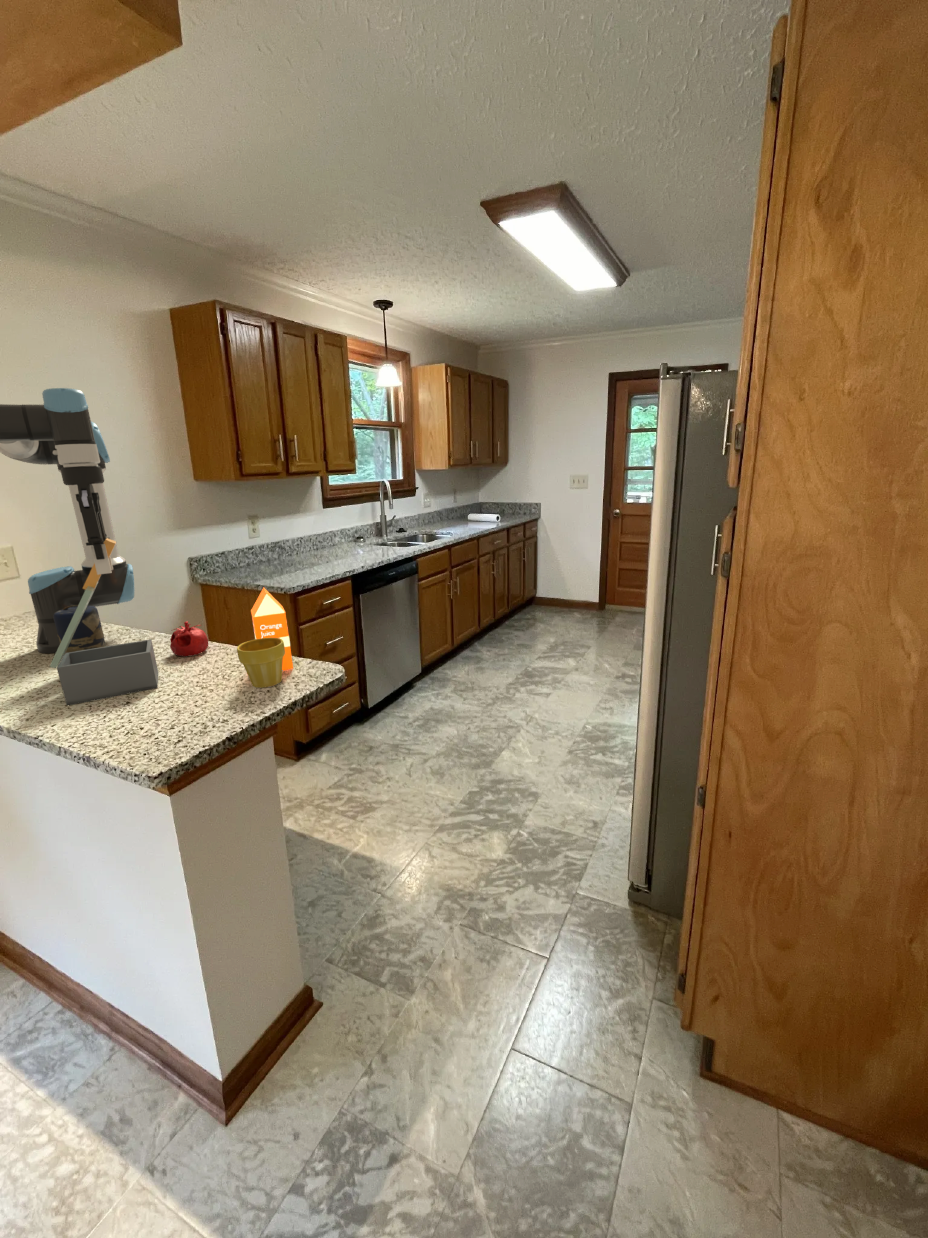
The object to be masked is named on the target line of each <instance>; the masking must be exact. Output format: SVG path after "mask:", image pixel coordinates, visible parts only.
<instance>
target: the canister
mask: <svg viewBox="0 0 928 1238" xmlns="http://www.w3.org/2000/svg"><path fill="white" fill-rule="evenodd" d="M70 607H71V608H70ZM77 607H78V605H71V606H68V607H66V608H64V609H62V610H59V611H57V612H55V613H54V615H53V618H54V622H55V625H56V629H57V633H58V637H59V641H60V643H61V641H62V639H63V637H64V635H65V633H66V630H67V628H68V626H69V624H70V622H71V620H72V618H73V616H74V613H75V611H76V609H77ZM106 646H107V644H106V638H105V634H104V630H103V626H102V623H101V618H100V615H99V611H98V608H97V607H94V606H87V607H86V609H85V612H84V614H83V616H82V618H81V620H80V622H79V624H78V626H77V629H76V631H75V633H74V635H73V637H72V639H71V641H70V644H69V646H68V648H67V650H66V652H65V653H69V652H75V651H81V650H87V649H94V648H100V647H106ZM64 655H65V654H64ZM64 655H63V656H64Z"/></svg>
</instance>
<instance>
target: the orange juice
mask: <svg viewBox="0 0 928 1238" xmlns="http://www.w3.org/2000/svg"><path fill="white" fill-rule="evenodd" d="M250 613H251V619H252V625H253V632H254V639H259V638H268V637H275V638H280V639H282V640H283V641H284V647H285V655H284V656H283V665H282V670H283V671H287V670H293V669H294V664H293V656H292V651H291V650H292V649H291V641H290V635H289V629H288V620H287V615H286V610H285V609H284V607H283V605H282V604H281V603H280V602H279V601H278V600H277V599H276V598H275V597H274V596H273V595H272V594H271V593H270V592H269V591H268V590H267V589H266V588H265V587H263V588H262V590H261V591H260V593H259V595H258V597H257V599H256V601H255V603H254V604H253V606H252V608H251V609H250Z"/></svg>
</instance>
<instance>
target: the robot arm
mask: <svg viewBox="0 0 928 1238" xmlns="http://www.w3.org/2000/svg"><path fill="white" fill-rule="evenodd" d="M41 394H42V400H43V404H3V403H2V404H1V403H0V453H1V454H2V455H4V456H6V457H7V458H10V459H13V460H14V461H19V462H22V463H27V464H33V465H44V466H45V465H57V470H58V472H60V474H61V478H62V482H63V483H62V484H64V485H65V486H68V489H69V494H70V497H71V502H72V506H73V510H74V514H75V519H76V522H77V523H76V524H77V527H78V531H79V535H80V539H81V543H82V547H83V548H82V549H83V552H84V555H85V556H84V557H85V559H84V560H83V561H82V563H81V564H80V565H81V569H80V570H75V568H74V567H73V566H71V565H70V566H61V567H56V568H52V569H48V570H45V571H41V572H38V573H35V574H33V575H31V576H30V577H28V579H27V585H28V590H29V591H28V593H29V594H30V597H31V600H32V604H33V609H34V612H35V616H36V620H37V623H38V629H37V635H36V644H35V645H36V648H37V652H38V653H42V654H54V653H55V654H56V652H57V650H58V647H59V645H60V641H59V637H58V633H57V629H56V625H55V622H54V618H53V615H54V613H55V612H57V611H59V610H62V609H64V608H66V607H68V606H71V605H79V603H80V601H81V599H82V596H83V594H84V592H85V589H82V588H83V586H84V584H85V582H86V580H87V578H88V576H89V573H90V571H91V569H92V567H93V565H94V563H95V567H96V571H97V575H99V574H101V576H100V578H99V580H98V584H97V586H96V588H95V590H94V592H93V595H92V597H91V599H90V601H89V603H88V605H87V606H94V607H96V608H97V607H103V606H109V605H119V604H122V603H128V602H131V601H132V600H133V599H134V598H135V591H136V590H135V589H136V588H135V575H134V568H133V565H132V564H131V563H127V561H126V558H125V557H123V556H121V555H120V554H119V549H118V546H117V545H118V544H117V543H116V544H115V546H114V549H113V551H112V553H111V555H110V557H109V559H108V554H107V550H106V546H105V544H104V542H105V540H106V539H107V538H108V539H111V540H113V541H116V542H117V540H116V536H115V531H114V527H113V523H112V519H111V518H112V517H111V513H110V509H109V503H108V499H107V495H106V490H105V486H104V483H105V478H104V474H103V473H104V472H105V471H106V470H107V468H106V464H108V463H110V462H111V459H110V456H109V453H108V450H107V446H106V444H105V440H104V438H103V436H102V433H101V430H100V428H99V426H98V425H97V423H95V422H94V421H92V420H91V417H90V411H89V404H88V403H87V399H86V396H85V394H84V392H83V391H82V390H80V389H77V388H68V387H57V388H55V387H53V388H46V389H43V391H42V393H41ZM70 608H71V607H70Z"/></svg>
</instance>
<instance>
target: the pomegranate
mask: <svg viewBox="0 0 928 1238" xmlns="http://www.w3.org/2000/svg"><path fill="white" fill-rule="evenodd" d="M183 623H184V626H183V625H180V626H178V628H177V627H176V628H174V629H171V631H173V632H172V634H171V636H170V639H169V641H170V645H169V648H170V649H171V652H172V653H173V654H174V655H176V656H178V657H179V656H180V657H186V656H187V657H192V656H196V655H197V656H198V655H201V652H202V653H204V652H205V651H207V649H208V648H209V638H208V636H207V633H206V632H205V631H204V630H203V629H200V628H198V626H199V627H200V626H202V624H197V625H194V626H191V623H189V621H184V622H183Z"/></svg>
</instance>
